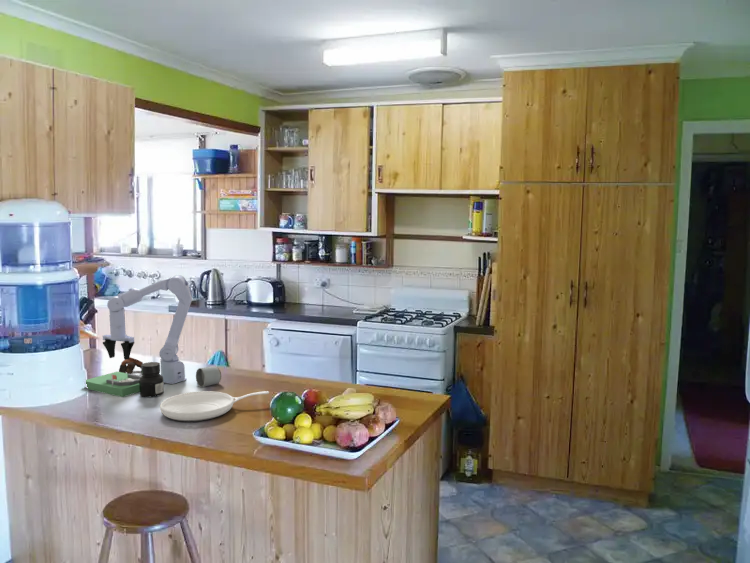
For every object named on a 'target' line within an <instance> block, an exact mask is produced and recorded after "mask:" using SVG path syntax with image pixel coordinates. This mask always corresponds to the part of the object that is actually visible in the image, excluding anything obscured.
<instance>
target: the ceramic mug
mask: <svg viewBox="0 0 750 563" xmlns="http://www.w3.org/2000/svg"><path fill="white" fill-rule="evenodd" d="M195 380H196V383H197V385H198V386H199V387H200V388H204V387H209V386H214V385H218V384H219V383H221V381H222V372H221V369H220V368H219V367H218V366H209V367H198V368H197V369H196V373H195Z"/></svg>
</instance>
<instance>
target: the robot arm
mask: <svg viewBox="0 0 750 563" xmlns="http://www.w3.org/2000/svg"><path fill="white" fill-rule="evenodd" d="M189 285H190V284H189V282H188V281H187V279H186V278H185V277H184V276H183V275H181V274H176V275H174V276H170V277H169V276H168V277H167V278H166V277H165V278H163V279H159V280H158V281H156V282H154V283H151V284H149V285H147V286H145V287H142V288H141V289H139V288H135V287H134V288H132V287H131V288H129V289H128V290H127V291H125V292H122V293H118V294H117V295H115V296H113V297H111V298H110V299H108V301H107V305H106V306H107V309H108V311H109V331H110V333H109V334H104V335H102V340H103V341H102V345H103V346H104V347H105V350H106V352H107V354H108V357H109V359H112V358H113V359H114V358H115V356H116V343H117V342H121V343H120V346H121V349H122V353H123V354H122V355H123V359H124V360H126V359H129V357H131V356H130V355H131V352H132V349H133V346H134V344H135V336H130V335H127V334H126V317H125V309H124V308H128V307H130V306H132V305H135V304H137V303H140V302H142V300H143V298H144V297H145V296H148V295H150V294H153V293H156V292H158V291H160V290H161V291H168V290H169V292H171V293H172V294H173V295H175V297H176V299H177V300H178V304H177V308H176V309H175V310H176V311H175V313H174V316H173V319H172V322H171V326H170V328H169V332H168V335H167V338H166V340H165V343H164V345H163V347H161V348H160V349H159V354H158V355H159V357H160V362H159V363H160V375H162V376H163V382H164V383H165V384H168V385H169V384H170V385H175V384H176V383H180V382H183V381H187V378H186V372H185V371H186V370H185V364H184V362H183V361H180V359H179V357H178V352H179V341H180V337H181V334H182V331H183V328H184V325H185V322H186V318H187V316H188V312H189V311H190V306H191V304H192V300H193V295H192V293H191V290H190V287H189ZM124 360H123V361H124Z"/></svg>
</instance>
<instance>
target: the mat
mask: <svg viewBox="0 0 750 563" xmlns="http://www.w3.org/2000/svg"><path fill="white" fill-rule="evenodd" d="M111 374H113V375H116V376H117V380H115V379H113V382H114V387H112V376H111ZM140 377H142V375H138V374H133V373H132V374H127V373H122V372H119V371H114V372H111V373H105V374H103V375H99V376H95V377H91V378H88V379H85V380H86V384H87V387H88V389H87V390H90V391H95V392H99V393H102V394H103V393H104V394H108V395H112V396H117V397H119V398H120V397H121V398H124V397H127V396H131V395H134V394H136V393H140V390H139V379H140ZM129 378H130V379H132V380H134V381H131V382H124V380H126V379H129ZM133 393H134V394H133ZM130 394H131V395H130Z"/></svg>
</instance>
